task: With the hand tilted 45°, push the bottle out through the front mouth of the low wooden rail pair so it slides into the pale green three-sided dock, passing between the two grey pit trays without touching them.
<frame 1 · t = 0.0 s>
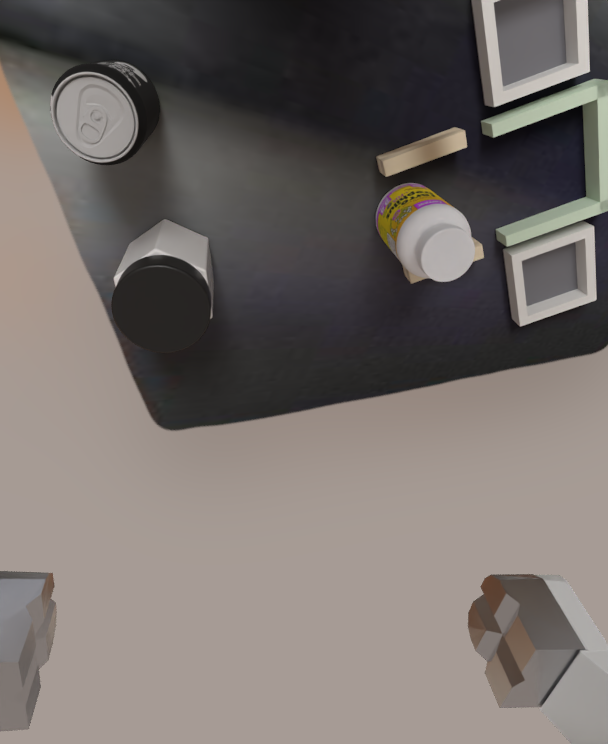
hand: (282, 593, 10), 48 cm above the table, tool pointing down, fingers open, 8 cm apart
beverage can: (122, 102, 48), on the table
supplement bottle: (404, 214, 56), on the table
pit 2: (525, 34, 49), on the table
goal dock: (536, 166, 55), on the table
jar: (172, 261, 56), on the table
pit 1: (545, 271, 62), on the table
wooden rail pair: (428, 205, 56), on the table
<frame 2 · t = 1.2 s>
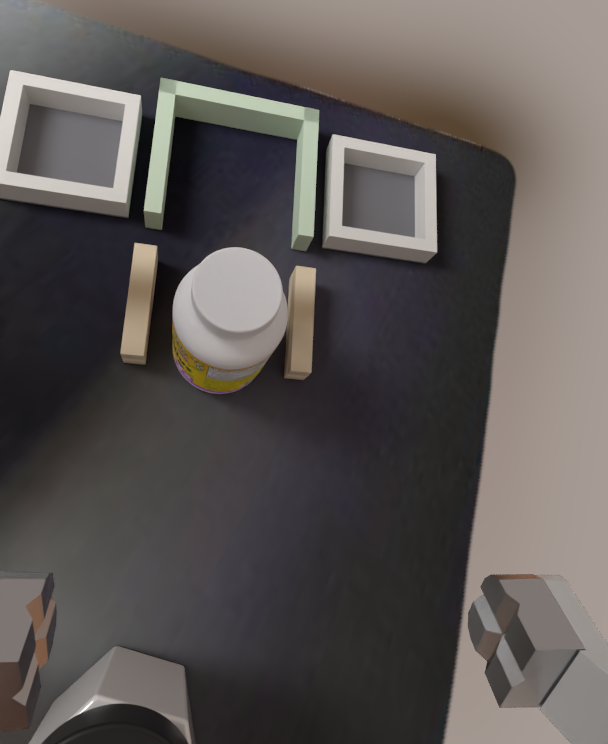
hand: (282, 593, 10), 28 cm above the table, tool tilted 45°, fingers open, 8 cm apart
supplement bottle: (218, 352, 40), on the table
pit 2: (73, 154, 41), on the table
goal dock: (233, 182, 43), on the table
jar: (125, 720, 34), on the table
pit 1: (375, 207, 46), on the table
wooden rail pair: (221, 319, 41), on the table
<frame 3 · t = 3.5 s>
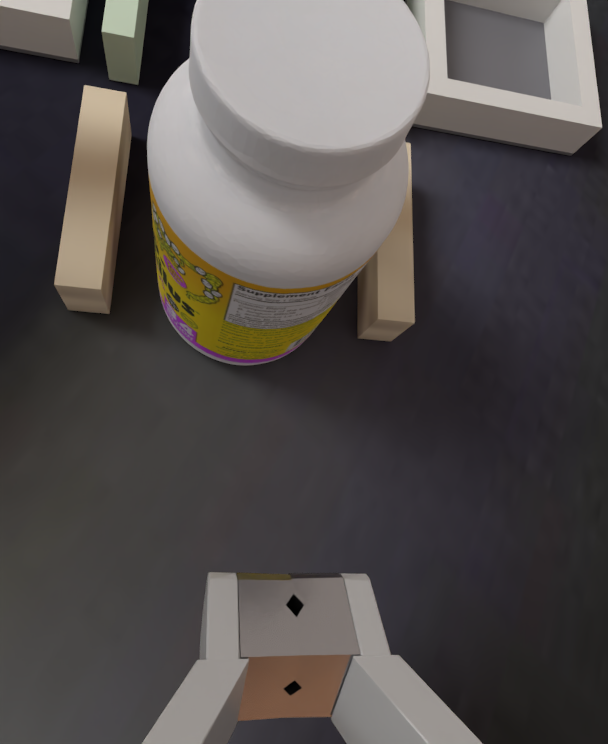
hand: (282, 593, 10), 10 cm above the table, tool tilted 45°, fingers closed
supplement bottle: (241, 294, 23), on the table
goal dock: (258, 16, 26), on the table
pit 1: (487, 66, 28), on the table
wooden rail pair: (244, 237, 23), on the table
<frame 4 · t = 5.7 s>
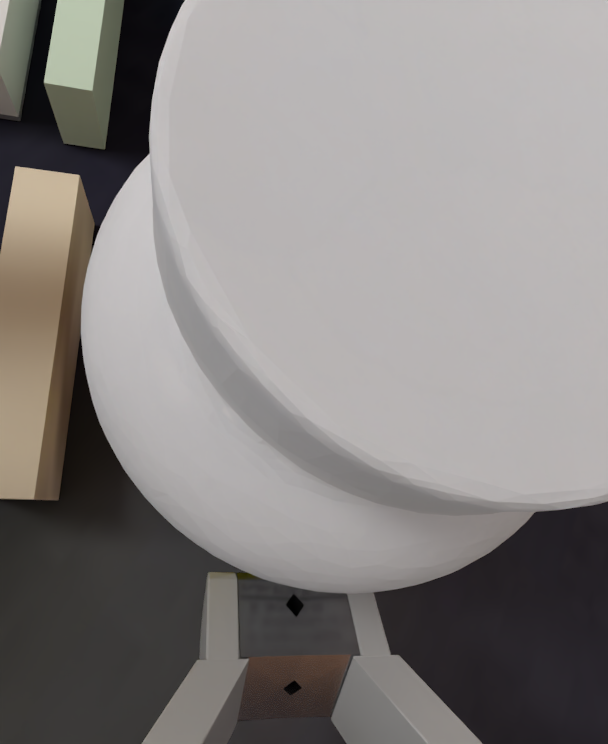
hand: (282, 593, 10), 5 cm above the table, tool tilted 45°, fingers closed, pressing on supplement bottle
supplement bottle: (256, 423, 16), on the table, touching gripper
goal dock: (271, 47, 19), on the table
wooden rail pair: (255, 366, 16), on the table
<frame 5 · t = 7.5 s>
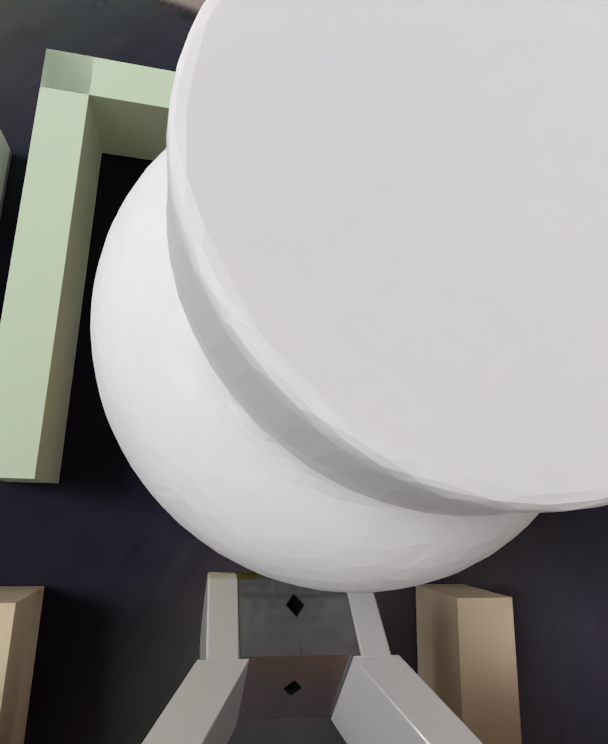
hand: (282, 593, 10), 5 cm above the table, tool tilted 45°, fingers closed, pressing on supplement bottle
supplement bottle: (259, 423, 16), on the table, touching gripper
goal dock: (255, 321, 17), on the table
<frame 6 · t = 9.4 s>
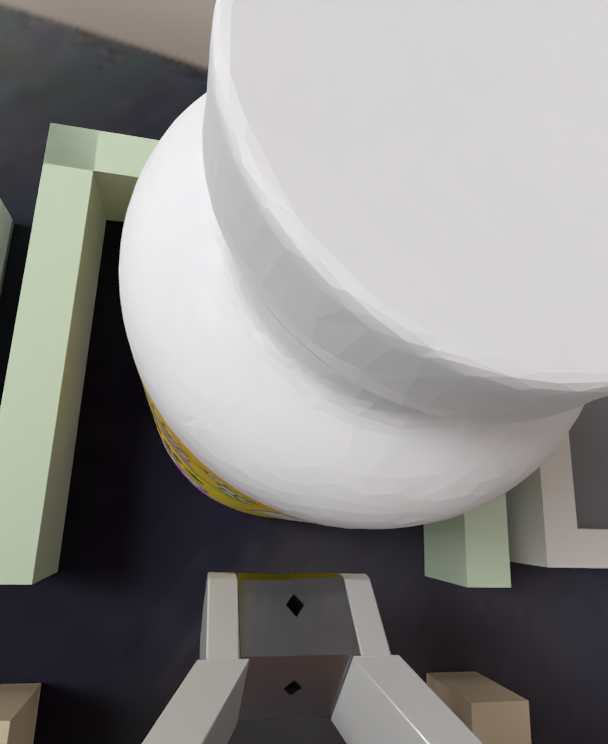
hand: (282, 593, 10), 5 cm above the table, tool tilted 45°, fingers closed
supplement bottle: (269, 403, 16), on the table
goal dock: (262, 394, 16), on the table
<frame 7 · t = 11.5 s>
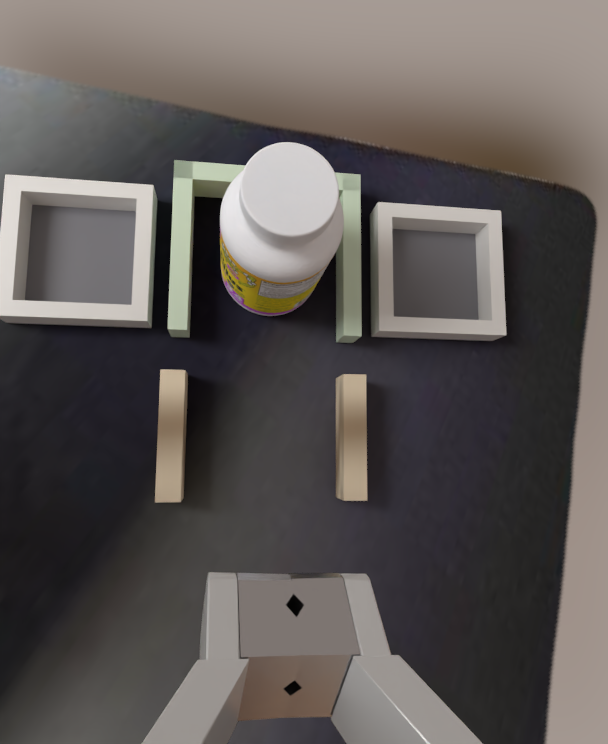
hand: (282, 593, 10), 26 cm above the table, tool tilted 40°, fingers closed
supplement bottle: (268, 273, 38), on the table
pit 2: (85, 259, 36), on the table
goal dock: (265, 269, 38), on the table
pit 1: (430, 278, 40), on the table
wooden rail pair: (262, 436, 36), on the table
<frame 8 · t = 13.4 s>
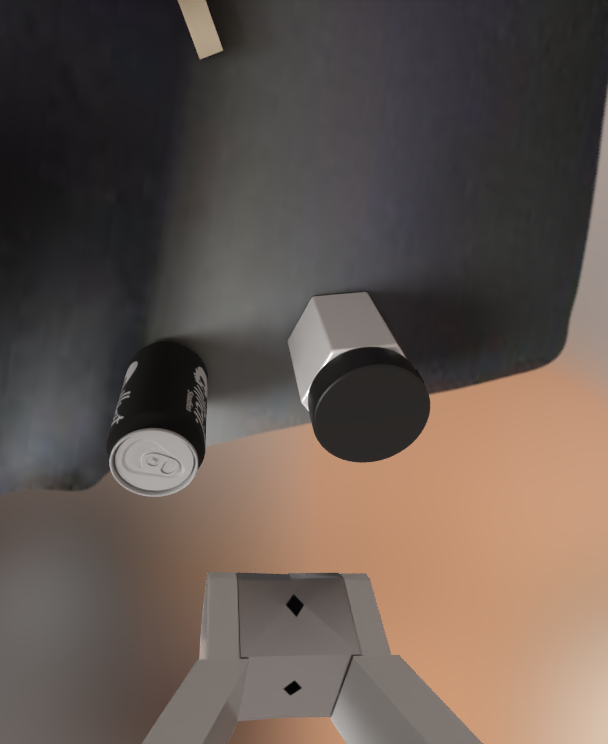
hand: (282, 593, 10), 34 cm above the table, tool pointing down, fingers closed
beverage can: (168, 371, 46), on the table
jar: (338, 334, 47), on the table
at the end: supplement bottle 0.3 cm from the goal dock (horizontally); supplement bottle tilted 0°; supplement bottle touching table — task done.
